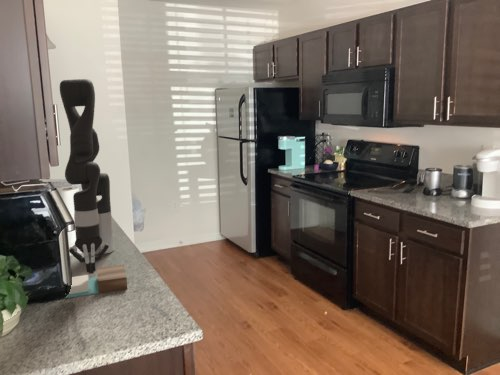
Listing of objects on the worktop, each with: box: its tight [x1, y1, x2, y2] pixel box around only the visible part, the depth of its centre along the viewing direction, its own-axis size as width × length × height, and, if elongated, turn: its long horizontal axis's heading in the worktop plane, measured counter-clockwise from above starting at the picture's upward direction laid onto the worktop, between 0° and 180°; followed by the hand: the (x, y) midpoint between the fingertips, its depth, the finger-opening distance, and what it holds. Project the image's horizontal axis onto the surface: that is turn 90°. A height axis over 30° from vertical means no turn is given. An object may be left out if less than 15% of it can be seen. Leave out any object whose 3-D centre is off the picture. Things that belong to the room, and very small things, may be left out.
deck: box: [96, 264, 128, 294], centre depth 148 cm, size 13×9×4 cm
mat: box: [64, 276, 100, 299], centre depth 145 cm, size 14×10×1 cm
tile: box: [69, 274, 89, 294], centre depth 144 cm, size 9×6×2 cm, turn 20°
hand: (91, 272), depth 146 cm, fingers closed
